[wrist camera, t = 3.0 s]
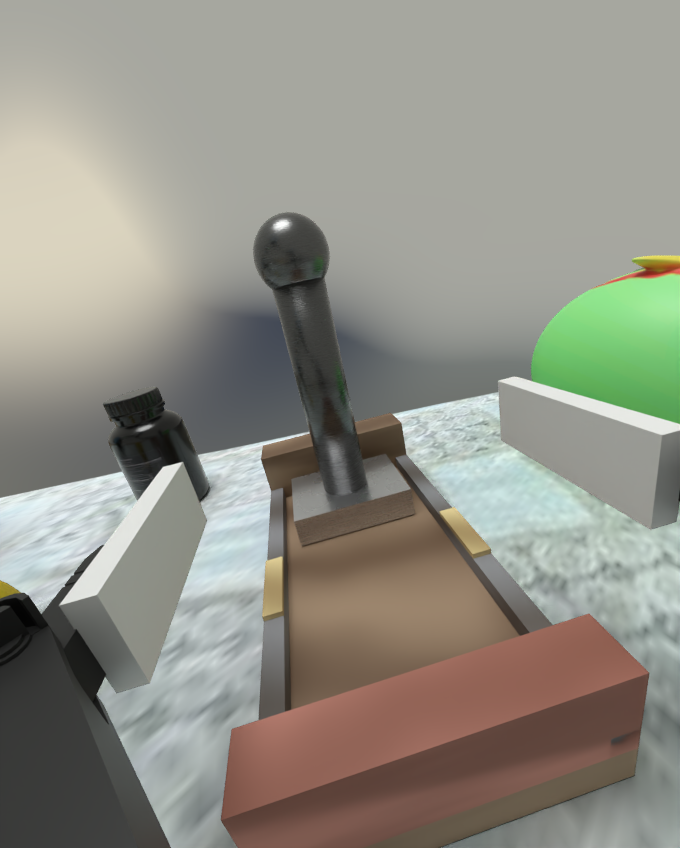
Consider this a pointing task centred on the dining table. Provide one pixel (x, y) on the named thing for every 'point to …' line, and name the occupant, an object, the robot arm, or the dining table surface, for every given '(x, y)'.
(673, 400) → the toy bird
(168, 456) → the supplement bottle
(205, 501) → the dining table surface
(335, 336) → the press handle
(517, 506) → the dining table surface
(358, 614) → the press base
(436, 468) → the dining table surface
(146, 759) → the dining table surface
